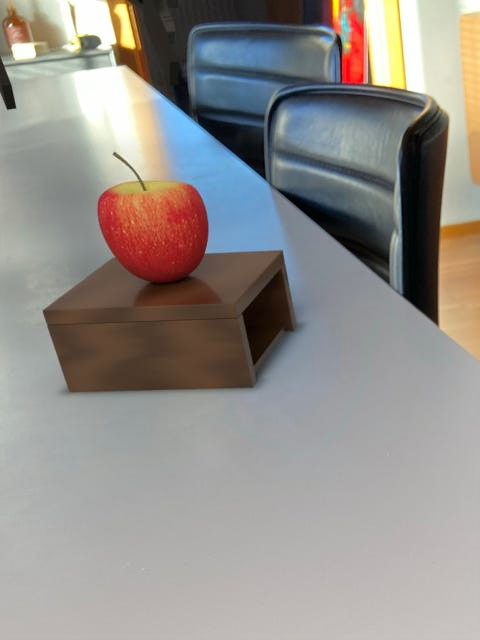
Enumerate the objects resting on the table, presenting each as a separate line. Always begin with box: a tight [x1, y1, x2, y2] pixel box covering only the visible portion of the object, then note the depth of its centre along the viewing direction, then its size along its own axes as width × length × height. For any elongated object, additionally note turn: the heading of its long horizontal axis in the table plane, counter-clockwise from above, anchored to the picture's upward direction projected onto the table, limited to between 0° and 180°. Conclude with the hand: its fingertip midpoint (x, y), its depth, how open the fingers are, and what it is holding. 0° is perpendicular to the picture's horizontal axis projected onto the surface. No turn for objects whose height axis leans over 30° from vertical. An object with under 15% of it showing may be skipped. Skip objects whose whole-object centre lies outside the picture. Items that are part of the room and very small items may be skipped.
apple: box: [96, 151, 210, 283], centre depth 82 cm, size 8×8×10 cm
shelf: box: [42, 249, 298, 393], centre depth 87 cm, size 16×14×7 cm
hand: (94, 85), depth 85 cm, fingers open, 13 cm apart
